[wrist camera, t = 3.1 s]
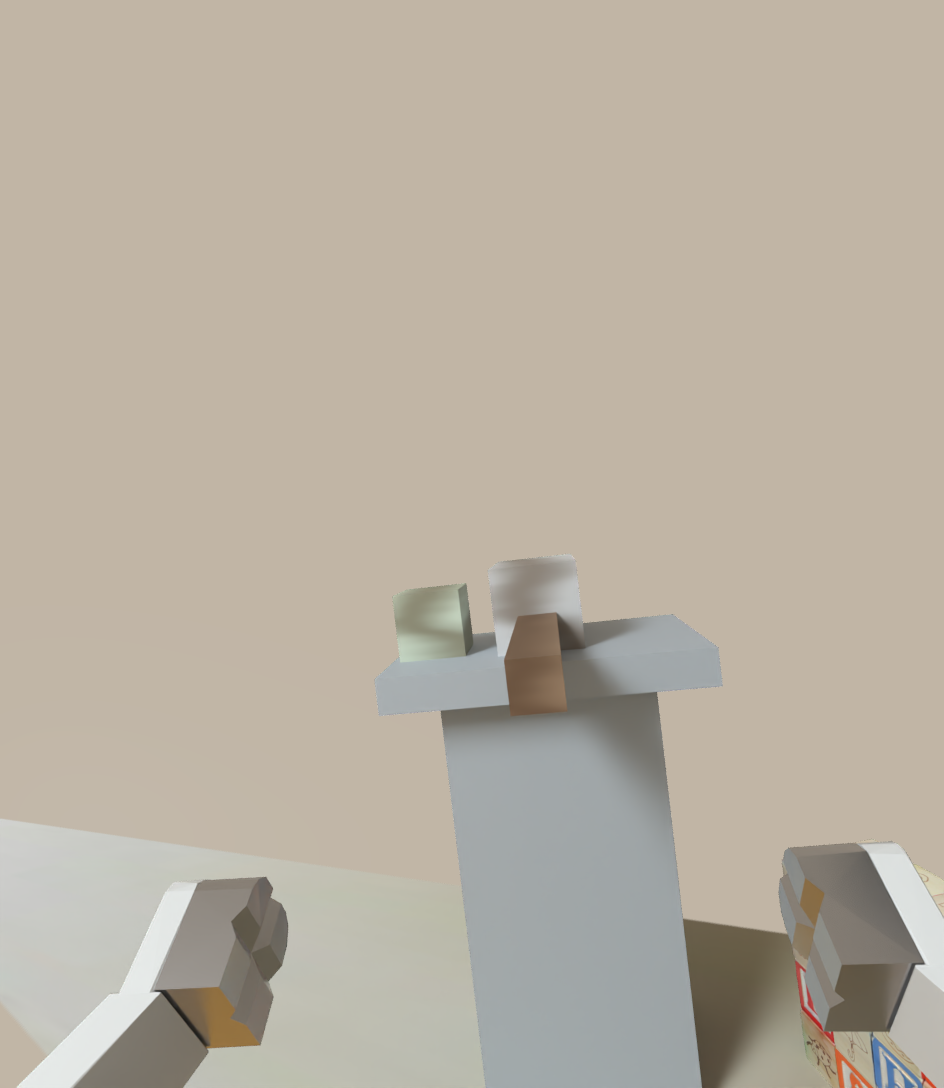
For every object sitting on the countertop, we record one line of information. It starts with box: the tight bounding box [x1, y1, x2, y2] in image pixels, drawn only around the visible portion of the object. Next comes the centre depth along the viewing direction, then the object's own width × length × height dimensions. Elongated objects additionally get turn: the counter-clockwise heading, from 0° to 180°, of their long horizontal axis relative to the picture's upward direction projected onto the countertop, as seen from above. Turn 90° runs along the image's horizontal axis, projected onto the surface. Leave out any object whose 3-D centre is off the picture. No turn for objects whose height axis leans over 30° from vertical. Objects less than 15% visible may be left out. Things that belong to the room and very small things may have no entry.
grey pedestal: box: [375, 614, 722, 1088], centre depth 40 cm, size 18×12×26 cm, turn 83°
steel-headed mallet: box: [488, 554, 586, 716], centre depth 35 cm, size 5×20×5 cm, turn 173°
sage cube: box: [392, 583, 473, 663], centre depth 41 cm, size 4×4×4 cm
